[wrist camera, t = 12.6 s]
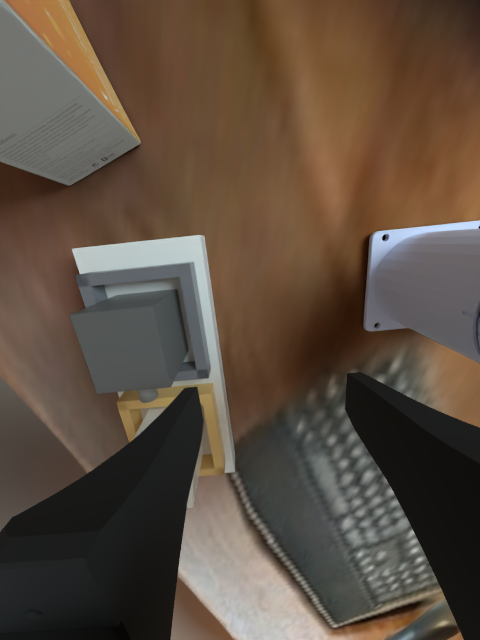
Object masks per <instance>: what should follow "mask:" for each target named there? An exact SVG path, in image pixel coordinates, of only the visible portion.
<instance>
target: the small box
mask: <svg viewBox="0 0 480 640" xmlns="http://www.w3.org/2000/svg"><path fill="white" fill-rule="evenodd" d="M140 143H141V141H140V139H139V137H138V135H137V133H136V132H135V130H134V128H133V126H132V124H131V123H130V121H129V119H128V117H127V115H126V113H125V111H124V109H123V107H122V105H121V104H120V102H119V100H118V98H117V96H116V94H115V92H114V90H113V88H112V86H111V84H110V82H109V80H108V78H107V76H106V74H105V72H104V70H103V68H102V66H101V64H100V62H99V60H98V58H97V56H96V54H95V52H94V50H93V48H92V46H91V44H90V42H89V40H88V38H87V36H86V34H85V32H84V30H83V28H82V26H81V24H80V22H79V20H78V18H77V16H76V14H75V12H74V10H73V8H72V6H71V4H70V2H69V0H0V162H2V163H5V164H8V165H11V166H14V167H16V168H19V169H22V170H25V171H28V172H31V173H34V174H36V175H40V176H42V177H45V178H48V179H51V180H54V181H56V182H59V183H62V184H65V185H68V186H70V185H72V184H74V183H76V182H77V181H79V180H81V179H82V178H84V177H86V176H88V175H89V174H91V173H92V172H94V171H96V170H98V169H99V168H101V167H102V166H104V165H106V164H108V163H109V162H111V161H112V160H114V159H116V158H118V157H119V156H121V155H122V154H124V153H126V152H127V151H129V150H131V149H132V148H134V147H136V146H138V145H139V144H140Z"/></svg>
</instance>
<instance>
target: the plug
mask: <svg viewBox="0 0 480 640" xmlns="http://www.w3.org/2000/svg"><path fill="white" fill-rule="evenodd" d="M167 407H168V406H165V407H153V408H150V409H149V411H148V412H147V414H146V416H145V418H144V420H143V422H142V423H141V425H140V427H139V429H138V431H137V433H136V434H135V436H134V438H136V437H137V436H138V435H139V434H140V433H141V432H142V431H143V430H145V429H146V428H147V427H148V426H149V425H150V424H151V423H152V422H153V421H154V420H155V419H156V418H157V417H158V416H159V415H160V414H161V413H162V412H163V411H164V410H165V409H166V408H167ZM201 409H202V414H203V420H204V408H203V406H201ZM134 438H133V439H134ZM203 446H204V423H203V432H202V441H201V445H200V450H199V454H198V458H197V463H196V467H195V471H194V475H193V479H192V484H191V488H190V492H189V497H188V502H187V508H193V507H194V501H195V495H196V490H197V484H198V478H199V473H200V467H201V461H202V455H203Z"/></svg>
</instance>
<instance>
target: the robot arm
mask: <svg viewBox="0 0 480 640" xmlns="http://www.w3.org/2000/svg"><path fill="white" fill-rule="evenodd" d="M479 226H480V221H471V222H462V223H452V224H443V225H433V226H424V227H414V228H405V229H396V230H386V231H377V232H374V233H373V234H372V235H371V236H370V240H369V254H368V267H367V281H366V295H365V308H364V322H363V327H364V329H365V330H367V331H370V332H371V331H382V330H393V329H404V328H410V329H412V330H414V331H416V332H418V333H420V334H422V335H424V336H426V337H428V338H430V339H432V340H434V341H436V342H438V343H440V344H442V345H444V346H446V347H448V348H450V349H452V350H454V351H456V352H458V353H460V354H462V355H464V356H466V357H468V358H470V359H472V360H474V361H476V362H478V363H480V229H478V228H479ZM384 234H385V235H386V239H385V240H384V241H383V240H382V237H383V235H384ZM376 323H378V325H377V326H376V327H374V325H375V324H376ZM345 410H346V412H347V414H348V416H349V418H350V421H351V423H352V425H353V427H354V429H355V430H356V432H357V434H358V435H359V437H360V439H361V440H362V442H363V443H364V445H365V446H366V448H367V450H368V451H369V453H370V454H371V456H372V457H373V459H374V461H375V462H376V464H377V465H378V467H379V468H380V470H381V471H382V473H383V475H384V476H385V478H386V479H387V481H388V483H389V485H390V486H391V488H392V490H393V492H394V494H395V495H396V497H397V499H398V501H399V503H400V505H401V507H402V509H403V511H404V513H405V515H406V516H407V518H408V520H409V522H410V524H411V526H412V528H413V531H414V533H415V535H416V537H417V539H418V541H419V543H420V545H421V547H422V549H423V551H424V553H425V555H426V557H427V559H428V561H429V563H430V566H431V568H432V570H433V572H434V574H435V576H436V578H437V580H438V583H439V585H440V587H441V589H442V591H443V593H444V596H445V598H446V600H447V602H448V605H449V607H450V609H451V611H452V614H453V616H454V618H455V620H456V623H457V625H458V627H459V629H460V632H461V634H462V636H463V638H464V640H480V428H479V427H476V426H474V425H471V424H468V423H466V422H463V421H461V420H458V419H456V418H453V417H451V416H449V415H446V414H444V413H441V412H439V411H437V410H435V409H432V408H430V407H428V406H426V405H424V404H422V403H420V402H417V401H415V400H413V399H411V398H409V397H407V396H405V395H403V394H401V393H400V392H398V391H396V390H394V389H392V388H390V387H388V386H386V385H384V384H382V383H381V382H379V381H377V380H375V379H373V378H371V377H369V376H367V375H365V374H363V373H361V372H357V373H347V384H346V403H345ZM203 423H204V420H203V414H202V409H201V404H200V398H199V393H198V387H187V388H184V389H183V390H182V391H181V392H180V394H179V395H178V396H177V397H176V398H175V399H174V400H173V401H172V402H171V403H170V404H169V406H168V407H167V408H166V409H165V410H164V411H163V412H162V413H161V414H160V415H159V416H158V417H157V418H156V419H155V420H154V421H153V422H152V423H151V424H150V425H149V426H148V427H147V428H146V429H145V430H143V431H142V432H141V433H140V434H139V435H138V436H137V437H136V438H134V439H133V440H132V441H131V442H130V443H128V444H127V445H126V446H125V447H124V448H122V449H121V450H120V451H119V452H117V453H116V454H114V455H113V456H112V457H110V458H109V459H108V460H106V461H105V462H103V463H102V464H101V465H99V466H98V467H97V468H95V469H94V470H92V471H91V472H89V473H88V474H86V475H85V476H83V477H82V478H80V479H79V480H77V481H76V482H74V483H72V484H71V485H69V486H67V487H66V488H64V489H63V490H61V491H59V492H57V493H56V494H54V495H52V496H51V497H49V498H47V499H45V500H43V501H42V502H40V503H38V504H36V505H35V506H33V507H31V508H29V509H27V510H25V511H24V512H22V513H20V514H18V515H16V516H14V517H12V518H11V520H10V521H9V522H8V523H7V525H6V526H5V527H4V528H3V529H2V531H1V532H0V640H170V637H171V628H172V618H173V609H174V600H175V591H176V583H177V574H178V566H179V558H180V551H181V543H182V536H183V529H184V522H185V515H186V508H187V502H188V497H189V492H190V488H191V484H192V479H193V475H194V471H195V467H196V463H197V458H198V454H199V450H200V445H201V441H202V432H203Z"/></svg>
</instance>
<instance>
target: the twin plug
mask: <svg viewBox="0 0 480 640" xmlns="http://www.w3.org/2000/svg"><path fill="white" fill-rule="evenodd" d="M70 318H71V321H72V323H73V326H74V329H75V332H76V335H77V338H78V341H79V343H80V346H81V349H82V352H83V355H84V358H85V360H86V363H87V366H88V369H89V372H90V375H91V378H92V380H93V383H94V386H95V389H96V392H97V394H101V393H113V392H124V391H135V390H137V392H138V395H139V399H140V401H141V402H142V403H148V402H151V401H153V400H155V399H156V398H157V397H158V390H157V389H158V388H169V387H171V386H172V384H173V382H174V380H175V378H176V376H177V374H178V372H179V370H180V368H181V365H182V363H183V361H184V359H185V357H186V355H187V353H188V351H189V349H188V344H187V339H186V333H185V328H184V323H183V317H182V312H181V307H180V302H179V296H178V291H177V289H171V290H161V291H151V292H141V293H131V294H121V295H116V296H113V297H111V298H108V299H106V300H104V301H101V302H99V303H96V304H94V305H92V306H89V307H87V308H84V309H82V310H80V311H77V312H75V313H72V314H70Z"/></svg>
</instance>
